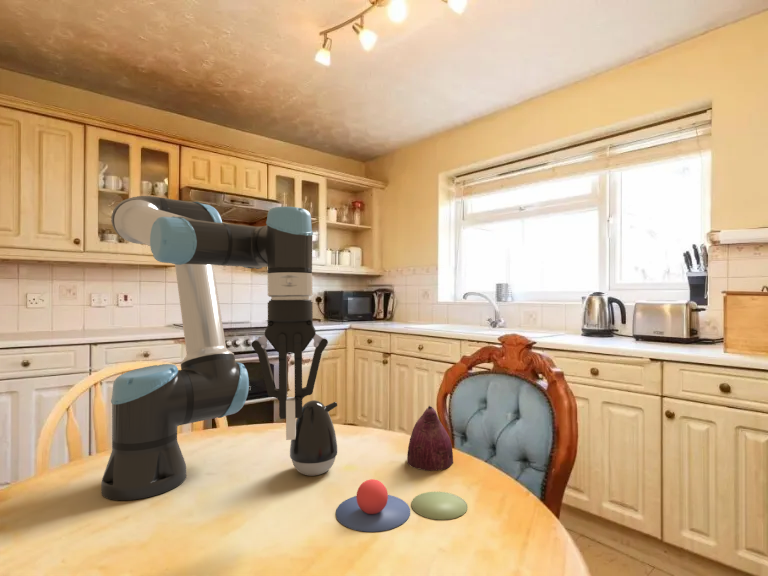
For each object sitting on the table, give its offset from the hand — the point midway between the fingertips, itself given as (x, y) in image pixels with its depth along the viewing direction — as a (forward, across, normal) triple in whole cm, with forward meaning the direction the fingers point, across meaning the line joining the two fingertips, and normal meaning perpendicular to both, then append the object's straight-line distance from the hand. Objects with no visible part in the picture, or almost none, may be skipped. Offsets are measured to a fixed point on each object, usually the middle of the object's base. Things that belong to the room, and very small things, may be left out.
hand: (291, 436), depth 73 cm
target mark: (+14, +14, 0) cm, 20 cm away
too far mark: (+14, +26, 0) cm, 29 cm away
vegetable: (+14, +30, +20) cm, 39 cm away
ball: (+11, +14, 0) cm, 18 cm away
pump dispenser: (+14, +4, +20) cm, 25 cm away
